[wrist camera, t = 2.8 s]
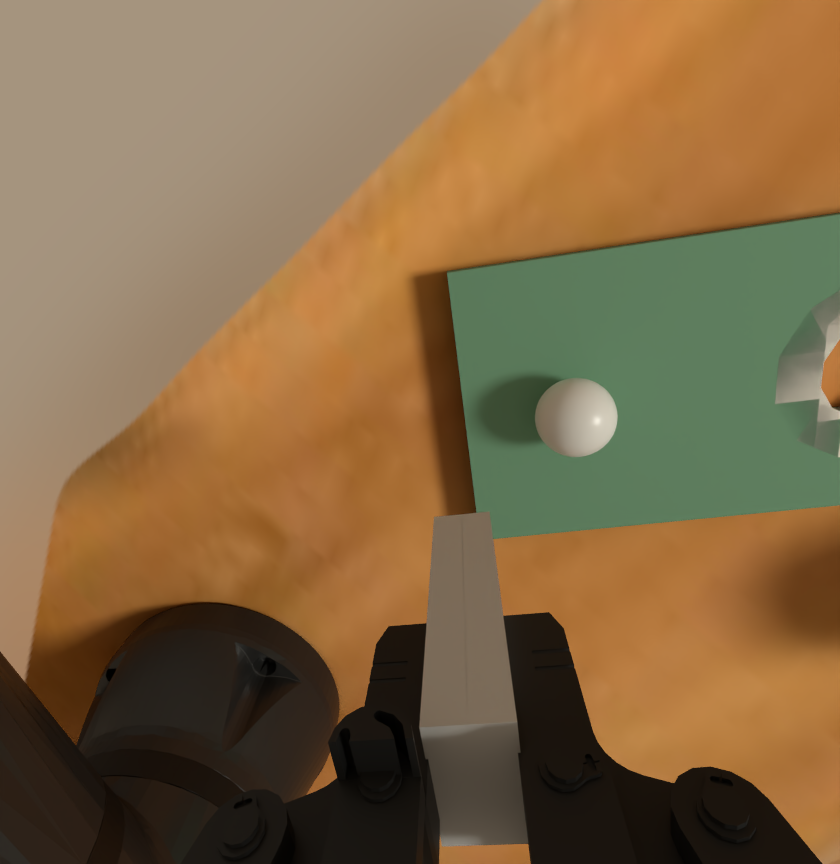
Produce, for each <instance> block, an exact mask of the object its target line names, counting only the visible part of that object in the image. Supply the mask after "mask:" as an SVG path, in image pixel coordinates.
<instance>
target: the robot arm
mask: <svg viewBox="0 0 840 864" xmlns="http://www.w3.org/2000/svg"><path fill="white" fill-rule="evenodd" d="M338 717H339V696H338V691H337V687H336V684H335V681H334V679H333V676H332V674H331V672H330V670H329V669H328V667H327V665H326V664H325V662H324V661H323V659H322V658H321V657H320V655H319V654H318V653H317V652H316V651H315V649H314V648H313V647H312V646H311V645H310V644H309V643H308V642H306V641H305V640H304V639H303V638H302V637H301V636H299V635H298V634H297V633H295V632H294V631H293V630H291V629H290V628H288V627H286V626H285V625H283V624H281V623H280V622H278V621H276V620H274V619H272V618H269V617H267V616H265V615H262V614H260V613H257V612H254V611H251V610H248V609H244V608H240V607H235V606H229V605H221V604H194V605H186V606H181V607H177V608H173V609H170V610H167V611H164V612H162V613H160V614H157V615H155V616H153V617H152V618H150V619H148V620H147V621H145V622H144V623H143V624H141V625H140V626H139V627H138V628H137V629H136V630H135V631H134V632H133V633H132V634H131V635H130V636H129V637H128V639H127V640H126V641H125V642H124V644H123V645H122V646H121V647H120V649H119V650H118V651H117V652H116V653H115V655H114V656H113V657H112V659H111V660H110V662H109V663H108V665H107V666H106V668H105V670H104V672H103V674H102V676H101V678H100V681H99V684H98V687H97V690H96V695H95V698H94V700H93V702H92V705H91V707H90V709H89V712H88V714H87V717H86V720H85V722H84V725H83V728H82V731H81V734H80V736H79V739H78V742H77V745H75V744H74V743H73V742H72V740H71V739H70V738H69V737H68V735H67V734H66V733H65V732H64V730H63V729H62V728H61V727H60V725H59V724H58V723H57V722H56V720H55V719H54V718H53V717H52V715H51V714H50V713H49V712H48V710H47V709H46V708H45V707H44V705H43V704H42V703H41V702H40V700H39V699H38V698H37V697H36V695H35V694H34V693H33V692H32V691H31V689H30V688H29V687H28V686H27V684H26V683H25V682H24V681H23V679H22V678H21V677H20V676H19V674H18V673H17V672H16V671H15V669H14V668H13V667H12V666H11V664H10V663H9V662H8V661H7V659H6V658H5V657H4V656H3V654H2V653H1V652H0V864H439V840H440V837H441V842H442V846H469V845H501V844H528V845H529V853H530V861H531V864H822V863H821V862H820V860H819V859H818V858H817V857H816V856H815V854H814V853H813V852H812V851H811V850H810V848H809V847H808V846H807V845H806V844H805V842H804V841H803V840H802V839H801V838H800V836H799V835H798V834H797V833H796V831H795V830H794V829H793V828H792V827H791V825H790V824H789V823H788V822H787V821H786V819H785V818H784V817H783V816H782V815H781V813H780V812H779V811H778V810H777V809H776V807H775V806H774V805H773V804H772V803H771V801H770V800H769V799H768V798H767V797H766V796H765V795H764V794H763V793H761V792H760V791H759V790H758V789H757V788H756V787H755V786H754V785H753V784H752V783H750V782H749V781H747V780H745V779H743V778H741V777H740V776H738V775H736V774H734V773H732V772H730V771H726V770H722V769H718V768H714V767H700V768H692V769H690V770H688V771H686V772H685V773H683V774H681V775H679V776H678V778H677V780H676V781H675V783H670V782H667V781H663V780H659V779H655V778H651V777H647V776H644V775H641V774H638V773H636V772H633V771H630V770H628V769H626V768H625V767H623V766H621V765H620V764H618V763H616V762H615V761H614V760H613V759H612V758H611V757H610V756H608V755H607V754H606V753H605V752H604V750H603V749H602V748H601V746H600V745H599V743H598V742H597V740H596V737H595V735H594V733H593V730H592V727H591V723H590V720H589V716H588V713H587V709H586V706H585V702H584V699H583V695H582V692H581V688H580V684H579V681H578V677H577V674H576V670H575V669H574V663H573V660H572V656H571V653H570V651H569V646H568V642H567V639H566V635H565V632H564V628H563V627H562V626H561V625H560V624H559V623H558V622H557V621H556V620H555V618H554V617H553V616H552V615H551V614H550V613H549V612H548V613H535V614H522V615H509V616H503V611H502V603H501V595H500V588H499V580H498V573H497V565H496V558H495V550H494V543H493V535H492V527H491V520H490V512H480V513H470V514H460V515H450V516H439V517H434V527H433V541H432V556H431V570H430V584H429V598H428V612H427V623H426V624H413V625H400V626H389V627H388V628H387V630H386V631H385V632H384V634H383V635H382V637H381V638H380V640H379V641H378V642H377V644H376V649H375V654H374V659H373V667H372V670H371V675H370V684H369V685H368V690H367V696H366V701H365V706H364V707H361V708H359V709H357V710H355V711H354V712H352V713H350V714H348V715H347V716H345V717H344V718H343V719H342V721H341V722H340V723H339V724H338V725H337V722H338ZM330 752H331V756H332V759H333V763H334V767H335V770H336V774H337V779H335V780H334V781H333V782H331V783H330V784H329V785H327V786H326V787H324V788H322V789H320V790H318V791H316V792H313V793H311V794H308V795H306V794H307V793H308V791H309V789H310V788H311V786H312V784H313V782H314V781H315V779H316V778H317V776H318V775H319V773H320V772H321V770H322V769H323V767H324V765H325V763H326V761H327V758H328V756H329V753H330Z"/></svg>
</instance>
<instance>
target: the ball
mask: <svg viewBox="0 0 840 864" xmlns="http://www.w3.org/2000/svg"><path fill="white" fill-rule="evenodd" d="M617 418H618V415H617V409H616V405H615V402H614V400H613V398H612V397H611V395H610V394H609V393H608V391H607V390H606V389H605V388H604V387H602V386H601V385H599V384H598V383H596V382H594V381H591V380H588V379H583V378H569V379H565V380H562V381H559V382H557V383H555V384H554V385H552V386H551V387H550V388H548V389H547V390H546V391H545V392H544V394H543V395H542V396H541V398H540V400H539V402H538V404H537V407H536V412H535V424H536V428H537V432H538V434H539V436H540V437H541V439H542V440H543V442H544V443H545V444H546V445H547V446H548V447H549V448H550V449H552V450H553V451H555V452H557V453H559V454H561V455H564V456H569V457H583V456H587V455H590V454H593V453H595V452H597V451H599V450H600V449H602V448H603V447H604V446H605V445H606V444H607V443H608V442H609V441H610V439H611V438H612V436H613V434H614V432H615V429H616V426H617Z"/></svg>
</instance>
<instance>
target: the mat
mask: <svg viewBox="0 0 840 864" xmlns="http://www.w3.org/2000/svg"><path fill="white" fill-rule="evenodd" d="M447 277H448V285H449V293H450V301H451V309H452V318H453V326H454V334H455V342H456V350H457V358H458V366H459V374H460V383H461V391H462V399H463V407H464V415H465V423H466V431H467V440H468V448H469V456H470V464H471V472H472V480H473V488H474V497H475V505H476V513H480V512H490V520H491V527H492V535H493V539H497V538H508V537H518V536H528V535H539V534H549V533H559V532H569V531H580V530H590V529H600V528H611V527H621V526H631V525H641V524H652V523H662V522H672V521H682V520H693V519H703V518H713V517H724V516H734V515H744V514H754V513H765V512H775V511H785V510H796V509H806V508H816V507H826V506H837V505H840V407H831V405H830V403H829V401H828V400H827V398H826V396H825V394H824V393H823V391H822V389H821V382H822V373H823V364H824V361H825V360H826V358H827V357H828V355H829V354H830V352H831V351H832V350H833V348H834V347H835V345H836V344H837V342H838V341H839V339H840V213H834V214H827V215H820V216H814V217H807V218H800V219H794V220H787V221H780V222H773V223H767V224H760V225H753V226H747V227H740V228H733V229H726V230H720V231H713V232H706V233H700V234H693V235H686V236H680V237H673V238H666V239H659V240H653V241H646V242H639V243H633V244H626V245H619V246H612V247H606V248H599V249H592V250H586V251H579V252H572V253H565V254H559V255H552V256H545V257H539V258H532V259H525V260H519V261H512V262H505V263H498V264H492V265H485V266H478V267H472V268H465V269H458V270H451V271H447ZM569 378H583V379H588V380H591V381H594V382H596V383H598V384H599V385H601V386H602V387H604V388H605V389H606V390H607V391H608V393H609V394H610V395H611V397H612V398H613V400H614V402H615V405H616V409H617V415H618V418H617V426H616V429H615V432H614V434H613V436H612V438H611V439H610V441H609V442H608V443H607V444H606V445H605V446H604V447H603V448H602V449H600V450H599V451H597V452H595V453H593V454H590V455H587V456H583V457H569V456H564V455H561V454H559V453H557V452H555V451H553V450H552V449H550V448H549V447H548V446H547V445H546V444H545V443H544V442H543V440H542V439H541V437H540V436H539V434H538V432H537V428H536V424H535V412H536V407H537V404H538V402H539V400H540V398H541V396H542V395H543V394H544V392H545V391H546V390H547V389H548V388H550V387H551V386H552V385H554V384H555V383H557V382H559V381H562V380H565V379H569Z"/></svg>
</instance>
